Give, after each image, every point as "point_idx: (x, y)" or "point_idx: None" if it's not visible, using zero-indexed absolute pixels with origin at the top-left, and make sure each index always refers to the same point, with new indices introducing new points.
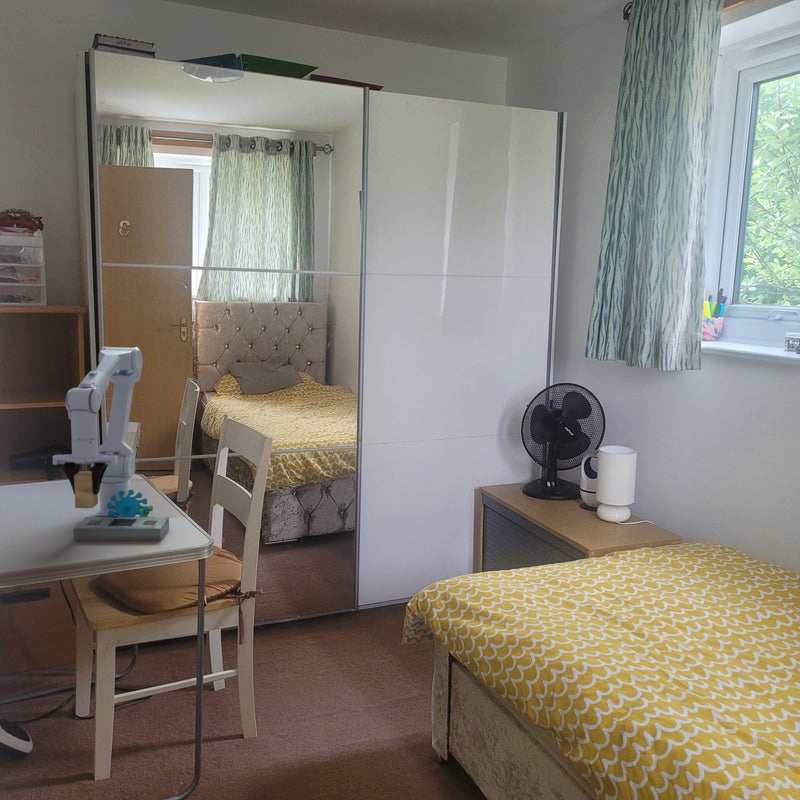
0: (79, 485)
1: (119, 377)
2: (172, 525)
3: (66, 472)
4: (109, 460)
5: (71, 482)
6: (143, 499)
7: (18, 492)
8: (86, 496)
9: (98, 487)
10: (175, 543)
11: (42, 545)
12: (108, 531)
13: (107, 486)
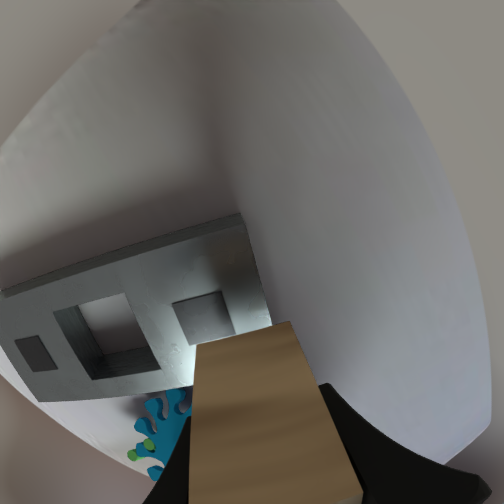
0: (291, 433)
1: None
2: (65, 402)
3: (443, 479)
4: None
5: (369, 434)
6: (158, 477)
7: (478, 419)
8: (229, 383)
9: None
10: None
11: (322, 137)
12: (104, 261)
13: None
